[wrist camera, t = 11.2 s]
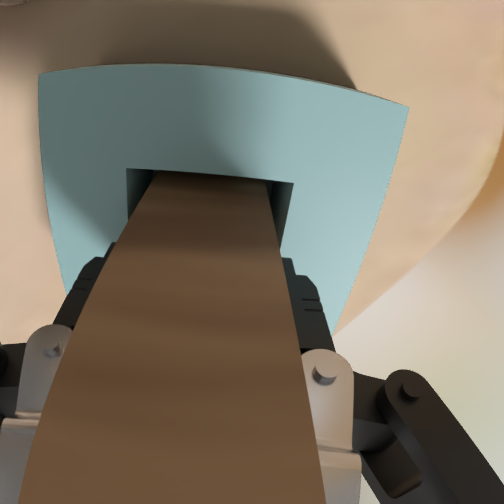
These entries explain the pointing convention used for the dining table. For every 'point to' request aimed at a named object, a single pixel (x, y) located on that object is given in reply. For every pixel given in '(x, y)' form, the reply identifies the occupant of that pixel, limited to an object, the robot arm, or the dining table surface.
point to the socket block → (218, 157)
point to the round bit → (12, 2)
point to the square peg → (182, 364)
